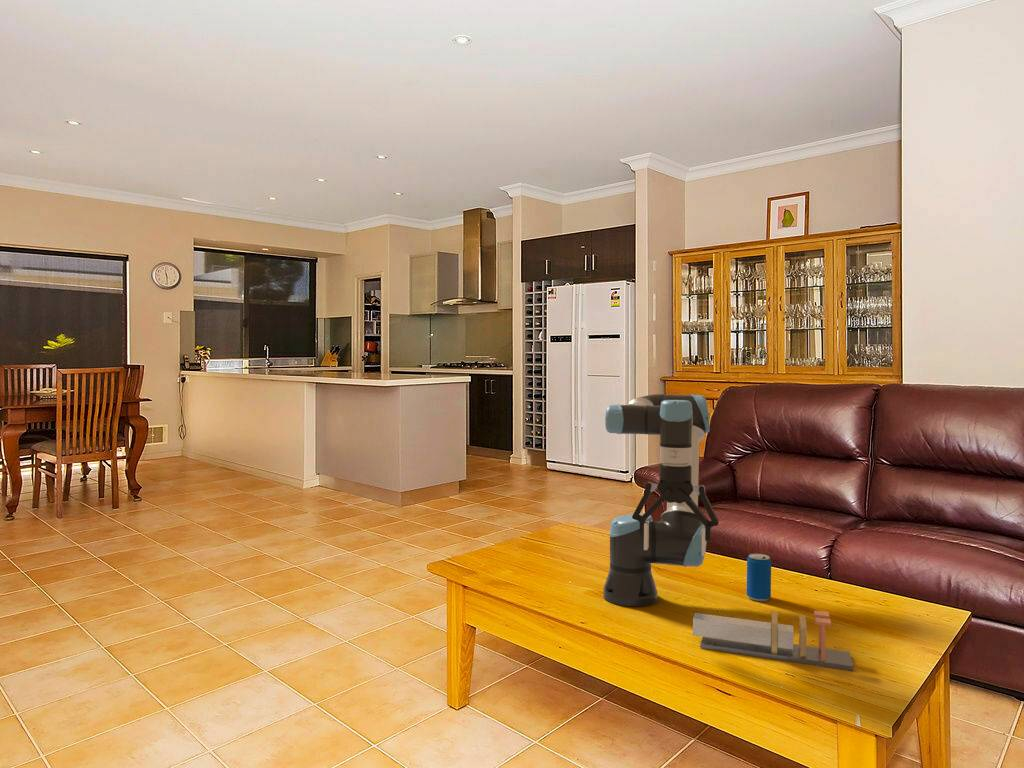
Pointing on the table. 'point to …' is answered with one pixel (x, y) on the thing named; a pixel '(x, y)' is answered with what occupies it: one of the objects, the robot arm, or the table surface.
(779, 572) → the table surface
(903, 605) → the table surface
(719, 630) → the pale grey bar
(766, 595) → the beverage can
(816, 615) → the aperture gantry
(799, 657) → the rail
